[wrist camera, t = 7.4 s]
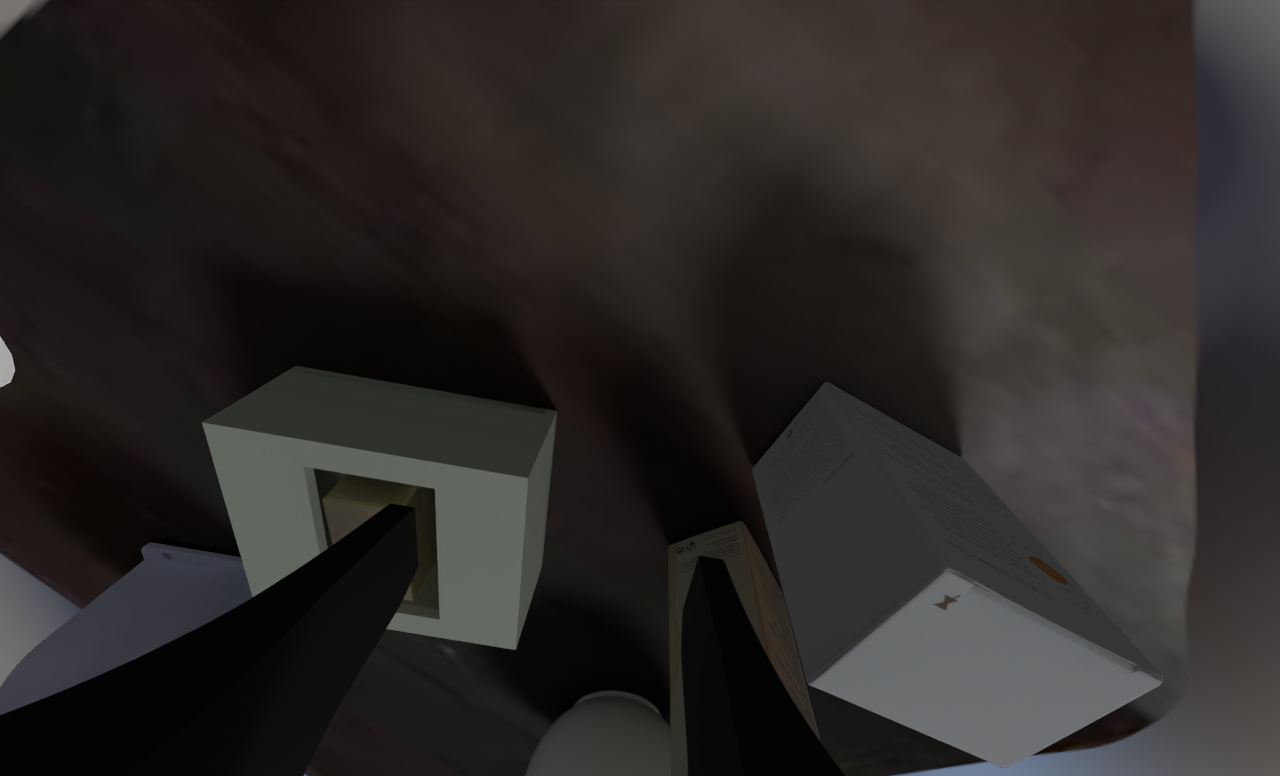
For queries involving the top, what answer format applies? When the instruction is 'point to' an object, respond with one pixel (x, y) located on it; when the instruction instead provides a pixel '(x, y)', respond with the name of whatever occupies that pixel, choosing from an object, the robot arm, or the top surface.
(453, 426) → the slot box
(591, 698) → the lidded jar
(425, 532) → the wooden rectangular block
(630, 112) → the top surface
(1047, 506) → the top surface
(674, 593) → the skincare box
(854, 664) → the small box
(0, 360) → the beverage cup
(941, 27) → the top surface
